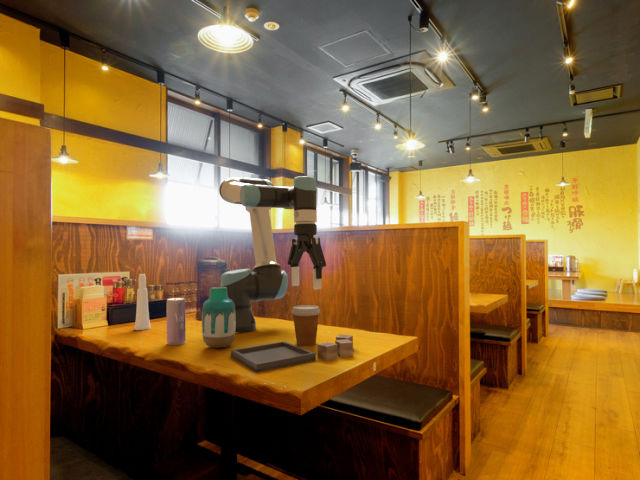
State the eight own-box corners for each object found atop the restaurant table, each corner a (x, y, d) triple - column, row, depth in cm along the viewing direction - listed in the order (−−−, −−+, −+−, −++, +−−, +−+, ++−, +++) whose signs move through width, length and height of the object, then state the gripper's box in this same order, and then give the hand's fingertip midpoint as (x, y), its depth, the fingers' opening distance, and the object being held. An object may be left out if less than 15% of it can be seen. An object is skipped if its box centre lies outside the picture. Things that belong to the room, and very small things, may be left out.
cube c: (336, 350, 120) (335, 337, 120) (341, 347, 124) (340, 334, 124) (348, 351, 118) (347, 338, 119) (352, 348, 122) (352, 335, 122)
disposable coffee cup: (317, 347, 123) (316, 309, 123) (288, 346, 125) (287, 309, 125) (323, 340, 132) (322, 305, 133) (296, 339, 134) (295, 304, 134)
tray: (230, 356, 114) (230, 349, 114) (284, 347, 124) (284, 340, 124) (256, 372, 99) (256, 364, 99) (315, 360, 109) (315, 353, 109)
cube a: (317, 358, 112) (317, 344, 112) (327, 355, 114) (327, 341, 114) (327, 361, 109) (327, 346, 109) (337, 358, 111) (337, 344, 111)
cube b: (335, 353, 116) (335, 340, 116) (347, 352, 117) (347, 339, 117) (340, 357, 112) (340, 343, 112) (353, 355, 114) (352, 342, 114)
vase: (200, 345, 128) (199, 287, 129) (232, 341, 133) (232, 285, 133) (204, 353, 119) (203, 290, 119) (238, 349, 123) (238, 288, 123)
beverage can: (180, 340, 136) (180, 297, 136) (188, 343, 132) (188, 298, 132) (163, 343, 132) (163, 299, 132) (171, 346, 127) (171, 300, 128)
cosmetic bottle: (148, 329, 155) (148, 274, 155) (132, 330, 154) (131, 274, 154) (152, 326, 161) (152, 273, 161) (136, 327, 160) (136, 273, 160)
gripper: (277, 225, 138) (278, 285, 137) (316, 221, 117) (317, 291, 117) (295, 225, 142) (296, 283, 141) (336, 221, 121) (337, 289, 121)
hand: (306, 287), depth 129 cm, fingers open, 13 cm apart
